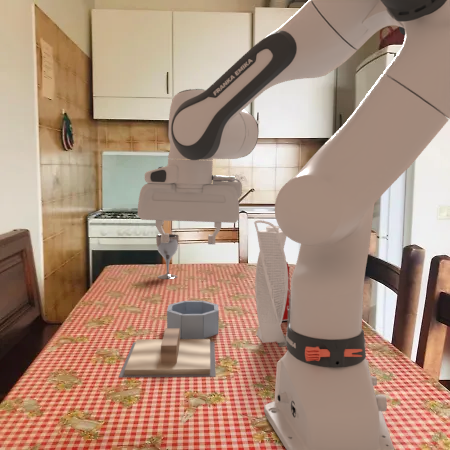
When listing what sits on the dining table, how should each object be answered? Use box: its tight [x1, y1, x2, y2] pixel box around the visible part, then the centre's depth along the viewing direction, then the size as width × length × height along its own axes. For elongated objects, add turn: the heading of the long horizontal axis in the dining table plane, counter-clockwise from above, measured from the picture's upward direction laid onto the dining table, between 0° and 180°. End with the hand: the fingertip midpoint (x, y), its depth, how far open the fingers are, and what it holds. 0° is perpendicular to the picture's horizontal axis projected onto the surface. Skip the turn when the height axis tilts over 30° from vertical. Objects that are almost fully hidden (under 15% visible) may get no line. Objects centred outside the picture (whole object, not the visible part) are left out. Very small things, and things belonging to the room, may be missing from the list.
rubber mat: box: [118, 341, 217, 378], centre depth 99 cm, size 18×18×1 cm
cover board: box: [125, 327, 211, 375], centre depth 98 cm, size 16×16×4 cm
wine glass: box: [155, 233, 180, 280], centre depth 173 cm, size 8×8×15 cm
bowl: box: [166, 300, 220, 339], centre depth 115 cm, size 12×12×6 cm
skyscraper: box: [253, 219, 291, 348], centre depth 109 cm, size 8×8×28 cm
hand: (188, 243), depth 98 cm, fingers open, 8 cm apart
